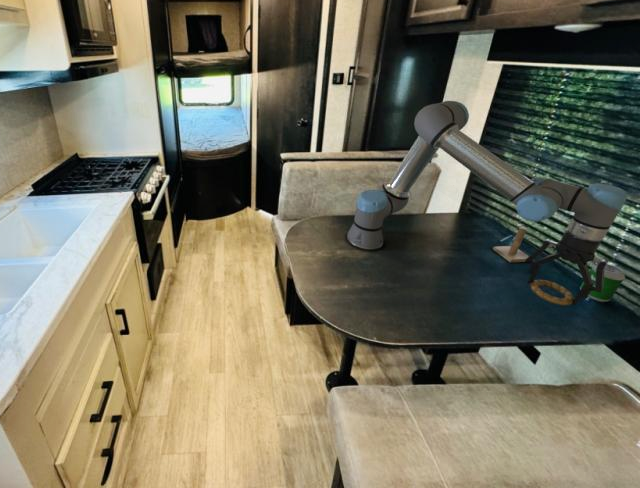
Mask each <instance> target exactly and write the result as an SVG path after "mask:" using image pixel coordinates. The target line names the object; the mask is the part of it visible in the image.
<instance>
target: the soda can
mask: <svg viewBox="0 0 640 488" xmlns="http://www.w3.org/2000/svg"><path fill="white" fill-rule="evenodd" d="M596 268H597V266H596V265H595V264H593V265H592V266H591V268H590V269H589V273H590V276H591V279H592V282H593V285H596ZM625 279H626V275H625V274H624V272H623V270H622V269H620V268H618V267H616V266H614V265H612V264H608V263H607V264H606V266H605V269H604V288H603V290H602V292H601V293H598V292H596V291H591V292H590V294H589V295H588V297H587V298H588V299H591V301H595V302H599V303H605V302H609V301H611V300H612V298H613V297H614V295H615V294H616V292H617V291H618V289H619V287H620V286H621V285H622V283H623V282H624V280H625ZM583 285H585V284H584V281H582V283H581V285H580V287H579V291H580V290H581V288H582V287H583Z"/></svg>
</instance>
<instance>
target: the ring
mask: <svg viewBox="0 0 640 488" xmlns="http://www.w3.org/2000/svg"><path fill="white" fill-rule="evenodd" d="M529 287H530V288H531V291H532V292H533V293H534V294H535V295H536V296H538V297H539V298H540V299H542V300H544V301H547V302H549V303H551V304H555V305H559V306H572V305H573V304H572V303H573V301H574V300H575V298H576V297H574V295H573V293H572V291H569V290H568V289H567V288H565V286H562V285H560V284H559V283H556V282H554V281H549V280H545V279H534V280H533V281H532V283H531V284H529ZM540 287H545V288H546V287H547V288H550V289H552V290H554V291H556V292H558V293H559V294H561V295H563V297H564V298H563V297H561V298H560V297H557V296H554V295H551V294H549V293H546V292H545V291H543V290H542V289H541V288H540Z"/></svg>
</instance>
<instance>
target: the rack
mask: <svg viewBox="0 0 640 488" xmlns="http://www.w3.org/2000/svg"><path fill="white" fill-rule="evenodd" d="M527 231H528V228H527V227H525V226H519V227H518V230H517V232H516V233H515V237H514V238H513V241H512V243H511V245H498V246H497V245H496V246H493V247H492V250H493V251H494V252H495V253H497V254H498V255H499V256H501V257H502V258H504V260H506V261H508V262H509V263H527V262H526V259H527V258H528V257H529V256H530V255H528V254H527V253H525V252H523V251H522V250H521V249H519V248H520V246H521V244H522V241H523V240H524V238H525V235H526V233H527Z"/></svg>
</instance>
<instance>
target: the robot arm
mask: <svg viewBox="0 0 640 488" xmlns="http://www.w3.org/2000/svg"><path fill="white" fill-rule="evenodd" d="M469 118H470V114H469V110H468V108H467V106H465V104H463V103H462V102H460V101H458V100H457V101H456V100H444V101H442V102H438V103H432V104H429V105H426V106H424V107H422V108H421V109H420V110H419V111H418V112H417V113H416V115H415V118H414V129H415V131H416V133H417V134H418V136H417V138H416V139H415V140H414V142H413V144H412V146H411V147H410V149H409V150H408V152H407V153H406V155H405V156H404V158H403V160H402V161H401V162H400V164H399V166H398V167H397V169H396V170H395V171H394V173H393V174H392V176H391V178H390V179H387V180H385V181H384V182H383V183H382V186H380V188H379V189H366V190H362V192H360V193H359V194H358V197H357V200H356V206H355V212H354V219H353V223H352V225H351V227H350V228H349V230H348V231H347V235H346V239H347V242H348V243H349V244H350V245H351V246H353V247H355V248H357V249H359V250H363V251H377V250H380V249H382V247H383V245H384V236H383V229H382V227H383V223H384V219H385V218H387V217H389V216H391V215H393V214H394V213H397V212H399V211H402V210H403V209H404V208H405V207H406V206H407V205H408V204H409V200H410V196H411V188H412V187H413V185H414V184H415V183H416V181H417V180H418V178H419V177H420V176H421V174H422V173H423V171H424V170H425V169H426V168H427V166H428V165H429V163H430V162H431V160H432V159H433V158H434V156H435V155H436V153H437V152H438V151H439V149H441V150H442V151H443V152H445V153H446V154H447V155H449V156H450V157H451V158H453V159H454V160H455V161H457V163H460V165H462V166H463V167H465V168H466V169H467V170H468V171H470V172H471V173H473V174H474V175H475V176H476V177H478V178H479V179H480V180H481V181H483V182H484V183H486V184H487V185H488V186H490V187H491V188H492V189H494V190H495V191H497V192H498V193H499V194H501V195H502V196H503V197H504V198H506V199H507V200H508V201H510V202H511V203H512V204H514V205H515V209H516V212H517V214H518V215H519V216H520V217H521V218H522V219H524V220H526V221H529V222H535V223H536V222H537V223H539V222H543V221H546V220H548V219H549V218H552V217H553V216H554V215H555V214H556V213H557V211H558V210H559V209H560V210H562V211H567V212H571V213H574V214H573V216H572V218H571V220H570V221H569V223H568V225H567V227H566V230H565V231H564V233H563V234H562V237H561V239H560V241H557V242H556V241H554V240H552V239H551V238H546V239H545V240H544V241H543V243H542V245H541V246H540V247H539V248H538V249H536V250H535V251H534V252H533V253H531V254H530V255H528V256H529V257H528V258H527V259H526V262H525V263H528V264H530V267H529V269H528V270H527V273H528V274H530V277H529V279H528V281H527V284H528V285H530V284H531V283H532V281H534V280H535V279H536V277H537V274H538V273H539V271H540V268H541V267H542V266H541V265H544V264H546V263H549V262H552V261H554V260H557V259H560V258H561V260H564V261H566V262H569V263H571V264H573V265H577V268H578V269H579V272H580V276H581V277H582V282H584V284H585V285H583V287H582V288H581V290H580V289H579V292H578V293H577V295H576V296H575V297H574V298H575V300H574V301H573V303H572V304H571V305H573V306H576V305H577V304H578V302H579V300H581V298H583V299H587V298H589V297H588V295H589V294H590V292H591V291H596V292H598V293H601V292H602V290H603V288H604V269H605V266H606V264H608V263H609V260H608V259H606V258H603V259H601V258H599V257H597V256H596V252H597V251H598V248H599V247H600V245H601V243H602V241H604V238H605V237H606V235H607V234H608V232H609V230H610V228H611V226H612V225H613V223H614V221H615V220H616V218H617V217H618V215H619V214H620V212H621V211H622V208H623V207H624V205H625V202H626V201H627V199H628V193H627V191H626V190H625V189H622V188H621V187H618V186H614V185H611V184H603V183H600V182H599V183H598V182H597V183H591V184H590V185H589V186H588V187H582V186H577V185H573V184H569V183H565V182H562V181H558V180H554V179H551V178H546V177H540V176H535V177H534V178H532V180H531V179H530V178H528V177H527V176H526V175H524V174H523V173H521V172H520V171H518V170H517V169H515V168H514V167H513V166H511V165H510V164H508V163H507V162H505V161H504V160H502V159H501V158H500V157H499V156H497V155H495V154H494V153H492V151H490V150H488V149H487V148H485V147H484V146H483V145H481V144H479V143H478V142H477V141H475V140H474V139H473V138H471V137H470V136H468V135H467V134H465V132H463V131H461V130H462V129H464V128H465V126H466V125H468V122H469ZM553 247H555V249H556V251H555V252H553V253H551V254H549V255H546V256H544V257H541V258H539V259H536V258H537V257H538V256H540V255H541V254H542V253H543V252H544V251H546V250H547V249H548V248H553ZM535 259H536V260H535ZM592 261H593V262H594V265H596V266H597V268H596V285H593V282H592V279H591V276H590V273H589V271H590V269H589V267H588V263H589V262H592Z"/></svg>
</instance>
